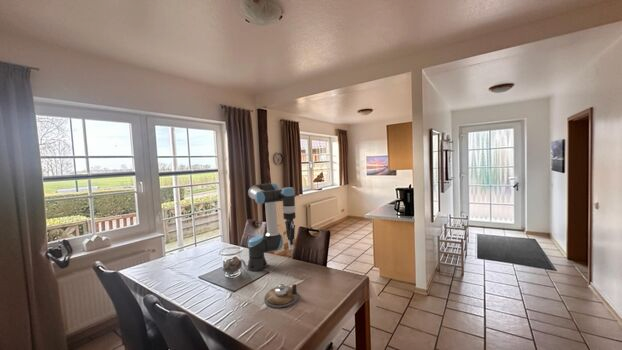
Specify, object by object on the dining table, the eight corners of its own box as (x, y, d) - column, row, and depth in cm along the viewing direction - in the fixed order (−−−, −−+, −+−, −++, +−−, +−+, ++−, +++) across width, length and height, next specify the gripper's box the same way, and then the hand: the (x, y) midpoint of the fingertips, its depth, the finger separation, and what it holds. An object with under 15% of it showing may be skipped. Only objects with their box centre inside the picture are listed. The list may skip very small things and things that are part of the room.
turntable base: (261, 294, 153) (261, 292, 153) (292, 286, 161) (291, 285, 161) (268, 312, 135) (268, 309, 134) (303, 302, 142) (303, 300, 142)
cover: (280, 288, 153) (280, 281, 153) (291, 292, 149) (290, 283, 149) (272, 295, 146) (271, 286, 146) (282, 298, 142) (282, 290, 142)
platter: (279, 286, 160) (279, 276, 160) (302, 292, 150) (301, 282, 150) (259, 299, 145) (258, 288, 145) (283, 308, 135) (282, 296, 135)
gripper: (280, 211, 160) (282, 247, 161) (286, 214, 148) (288, 253, 149) (291, 209, 163) (293, 245, 164) (298, 213, 151) (300, 251, 152)
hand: (291, 249), depth 157 cm, fingers closed
